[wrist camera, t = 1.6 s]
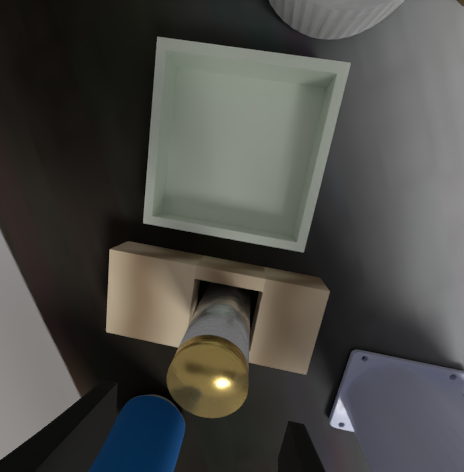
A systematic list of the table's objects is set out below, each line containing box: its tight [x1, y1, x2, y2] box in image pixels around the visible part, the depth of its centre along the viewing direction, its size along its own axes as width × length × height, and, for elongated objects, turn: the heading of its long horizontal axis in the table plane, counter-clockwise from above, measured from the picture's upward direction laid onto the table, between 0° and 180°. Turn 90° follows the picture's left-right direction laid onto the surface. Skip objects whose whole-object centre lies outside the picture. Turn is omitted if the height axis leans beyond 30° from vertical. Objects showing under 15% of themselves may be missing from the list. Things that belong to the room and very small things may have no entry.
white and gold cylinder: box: [167, 282, 250, 418], centre depth 15 cm, size 4×4×8 cm
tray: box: [143, 37, 351, 253], centre depth 15 cm, size 11×11×3 cm
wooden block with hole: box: [106, 241, 330, 375], centre depth 18 cm, size 16×7×2 cm, turn 81°
